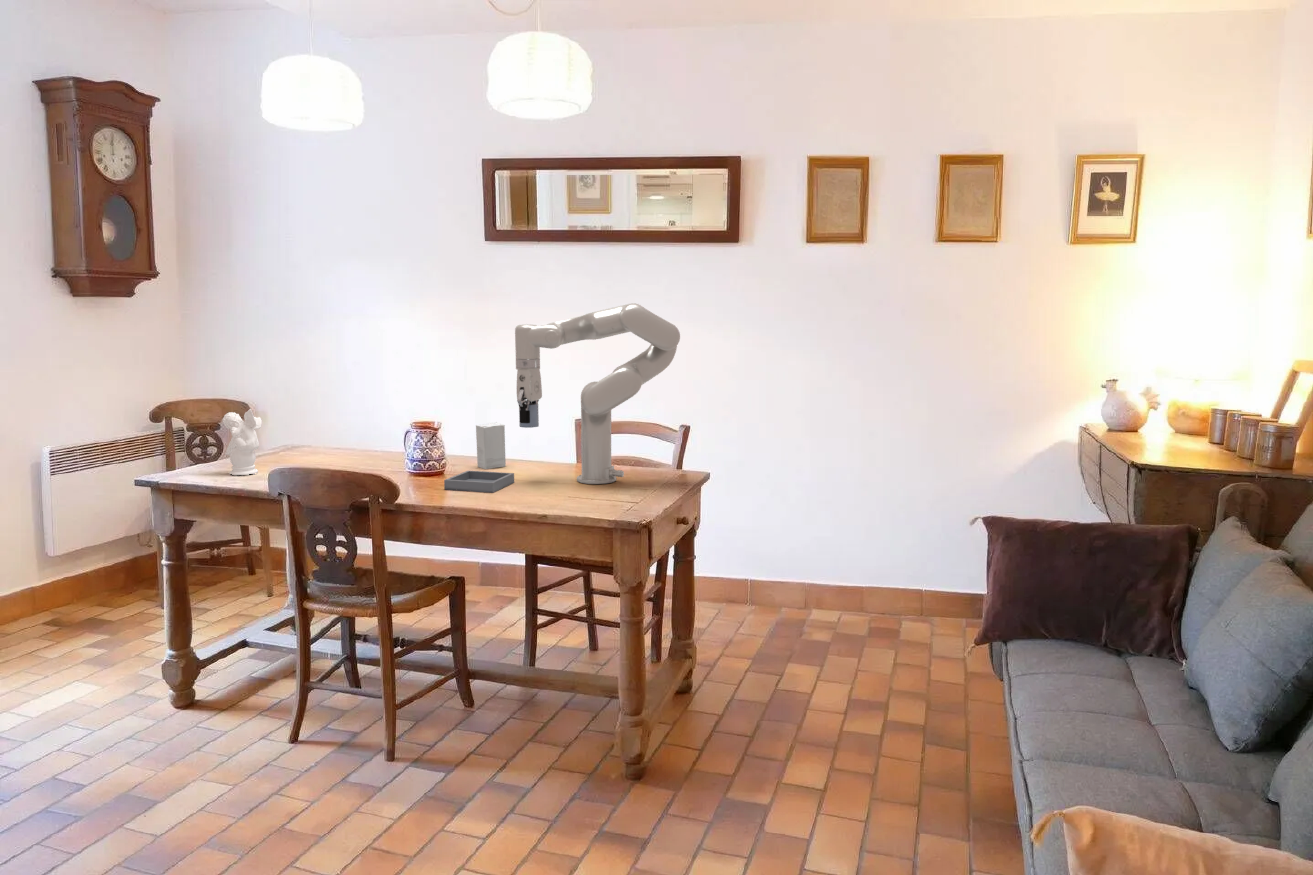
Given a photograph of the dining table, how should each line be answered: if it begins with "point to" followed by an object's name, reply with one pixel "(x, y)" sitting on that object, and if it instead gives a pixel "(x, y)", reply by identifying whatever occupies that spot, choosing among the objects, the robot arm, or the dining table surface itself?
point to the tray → (479, 481)
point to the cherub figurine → (242, 442)
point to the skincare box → (490, 445)
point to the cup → (531, 416)
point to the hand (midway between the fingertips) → (529, 421)
